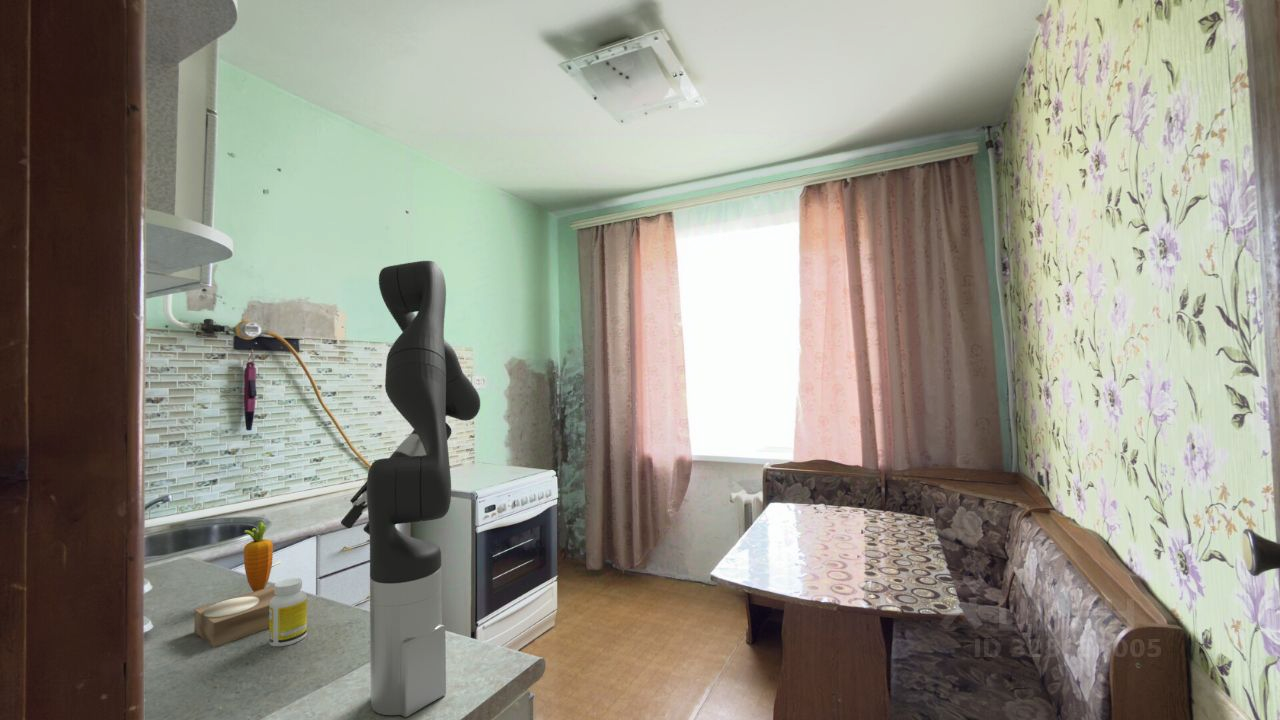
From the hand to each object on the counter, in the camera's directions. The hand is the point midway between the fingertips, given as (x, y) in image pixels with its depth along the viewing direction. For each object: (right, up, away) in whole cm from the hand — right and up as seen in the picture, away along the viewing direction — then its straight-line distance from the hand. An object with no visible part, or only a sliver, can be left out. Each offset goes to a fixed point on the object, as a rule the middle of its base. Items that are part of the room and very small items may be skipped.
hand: (355, 529), depth 100 cm
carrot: (-25, -17, +9) cm, 32 cm away
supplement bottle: (-6, -16, -10) cm, 20 cm away
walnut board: (-17, -16, -4) cm, 24 cm away
